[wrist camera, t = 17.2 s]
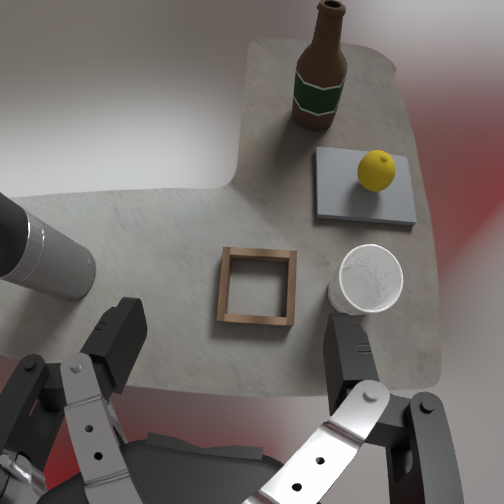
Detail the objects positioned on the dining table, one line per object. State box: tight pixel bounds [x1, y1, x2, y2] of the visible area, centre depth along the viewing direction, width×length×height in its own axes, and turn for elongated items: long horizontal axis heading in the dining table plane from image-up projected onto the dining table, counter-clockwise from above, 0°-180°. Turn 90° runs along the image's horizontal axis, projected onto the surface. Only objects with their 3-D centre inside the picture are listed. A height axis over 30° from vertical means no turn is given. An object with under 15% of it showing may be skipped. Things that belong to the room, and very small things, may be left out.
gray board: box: [315, 146, 416, 226], centre depth 47 cm, size 16×12×2 cm
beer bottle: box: [293, 0, 347, 131], centre depth 41 cm, size 8×8×24 cm
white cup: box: [328, 244, 403, 316], centre depth 39 cm, size 8×8×10 cm
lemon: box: [357, 150, 396, 192], centre depth 43 cm, size 6×6×8 cm
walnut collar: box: [216, 247, 297, 326], centre depth 43 cm, size 10×10×2 cm
